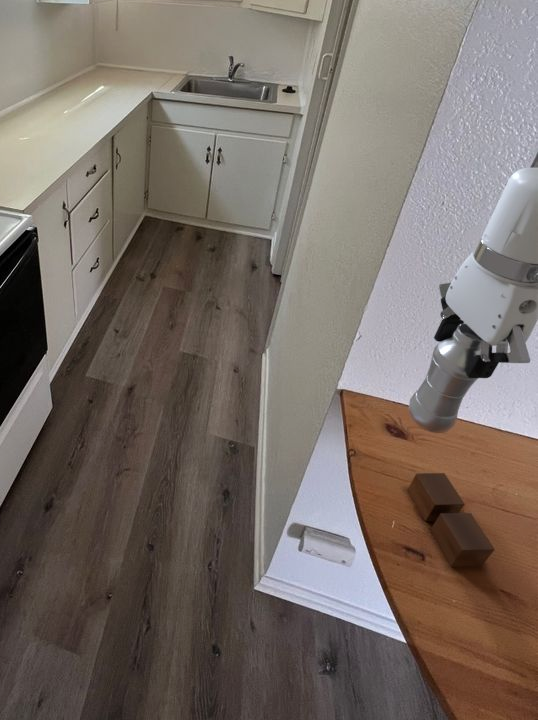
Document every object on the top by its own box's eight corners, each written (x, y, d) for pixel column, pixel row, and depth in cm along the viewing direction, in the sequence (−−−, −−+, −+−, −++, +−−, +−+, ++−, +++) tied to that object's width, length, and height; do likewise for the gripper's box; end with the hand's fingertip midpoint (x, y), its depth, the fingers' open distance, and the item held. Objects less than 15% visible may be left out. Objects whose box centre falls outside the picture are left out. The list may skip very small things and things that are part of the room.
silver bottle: (459, 431, 70) (511, 341, 61) (430, 445, 68) (480, 354, 59) (422, 399, 76) (465, 312, 66) (395, 411, 73) (435, 323, 64)
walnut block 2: (459, 529, 68) (470, 512, 66) (481, 566, 63) (495, 549, 61) (429, 530, 68) (440, 513, 65) (450, 566, 63) (462, 550, 61)
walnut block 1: (434, 489, 73) (444, 472, 71) (453, 520, 69) (465, 504, 67) (407, 490, 73) (416, 473, 71) (424, 521, 69) (435, 504, 66)
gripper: (602, 303, 49) (532, 407, 57) (487, 227, 65) (445, 317, 73) (540, 303, 49) (478, 408, 57) (439, 226, 64) (402, 318, 73)
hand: (460, 356), depth 65 cm, fingers closed on silver bottle, 6 cm apart
